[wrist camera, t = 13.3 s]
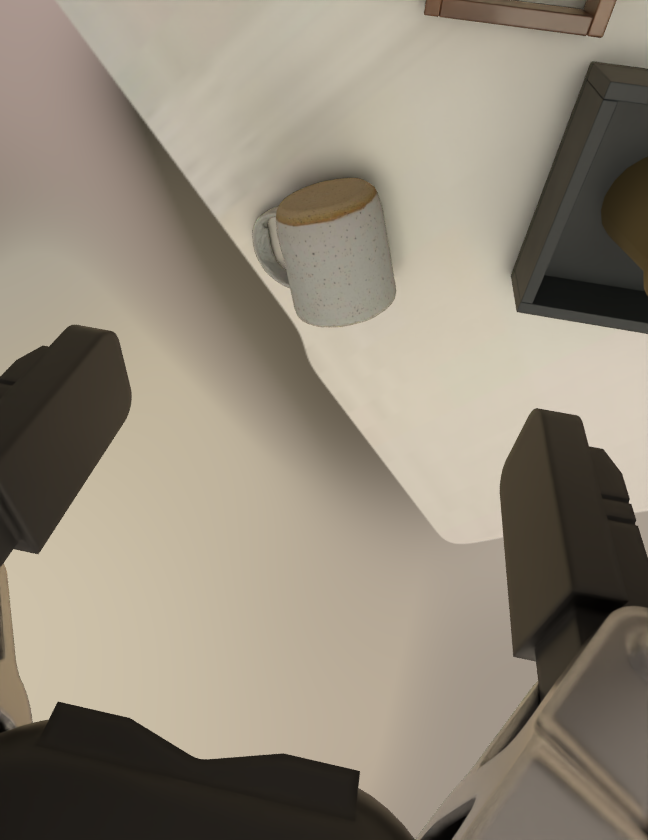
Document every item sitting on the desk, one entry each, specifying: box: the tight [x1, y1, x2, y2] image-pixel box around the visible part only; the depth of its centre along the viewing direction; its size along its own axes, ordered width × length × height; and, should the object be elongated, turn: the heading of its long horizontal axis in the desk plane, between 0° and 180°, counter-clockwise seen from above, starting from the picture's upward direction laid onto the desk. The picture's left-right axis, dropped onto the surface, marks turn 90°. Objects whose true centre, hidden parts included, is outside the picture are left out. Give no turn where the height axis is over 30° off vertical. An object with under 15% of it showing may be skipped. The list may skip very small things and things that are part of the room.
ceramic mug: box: [252, 178, 396, 327], centre depth 37 cm, size 11×8×8 cm
